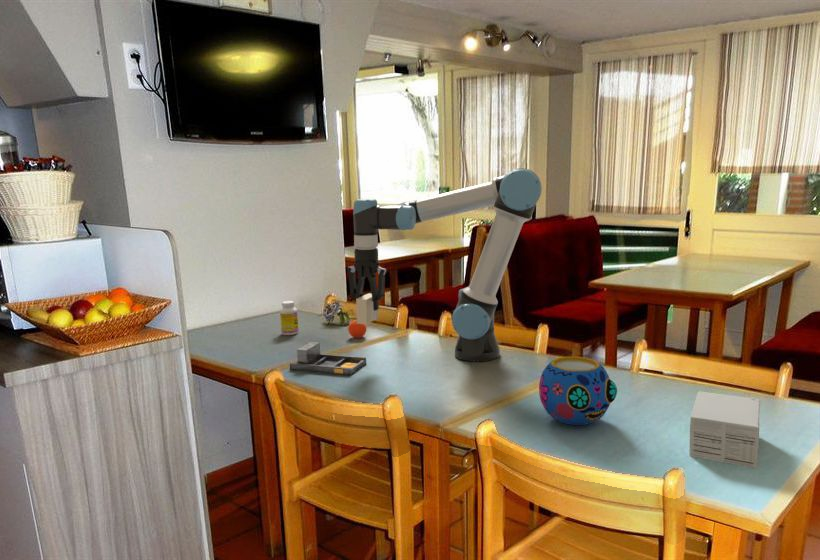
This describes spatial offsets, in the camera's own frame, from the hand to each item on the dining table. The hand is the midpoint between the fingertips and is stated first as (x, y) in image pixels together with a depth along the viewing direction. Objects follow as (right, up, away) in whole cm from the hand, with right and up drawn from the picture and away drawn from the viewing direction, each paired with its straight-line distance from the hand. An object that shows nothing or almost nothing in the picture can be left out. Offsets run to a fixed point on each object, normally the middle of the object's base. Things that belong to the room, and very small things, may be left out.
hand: (367, 319), depth 203 cm
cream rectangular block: (0, 0, 0) cm, 0 cm away
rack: (-13, -16, +2) cm, 21 cm away
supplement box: (+84, -25, -64) cm, 108 cm away
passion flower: (-17, -6, +60) cm, 63 cm away
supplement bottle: (-34, -9, +45) cm, 57 cm away
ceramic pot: (+55, -23, -47) cm, 76 cm away
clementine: (-6, -9, +36) cm, 38 cm away
